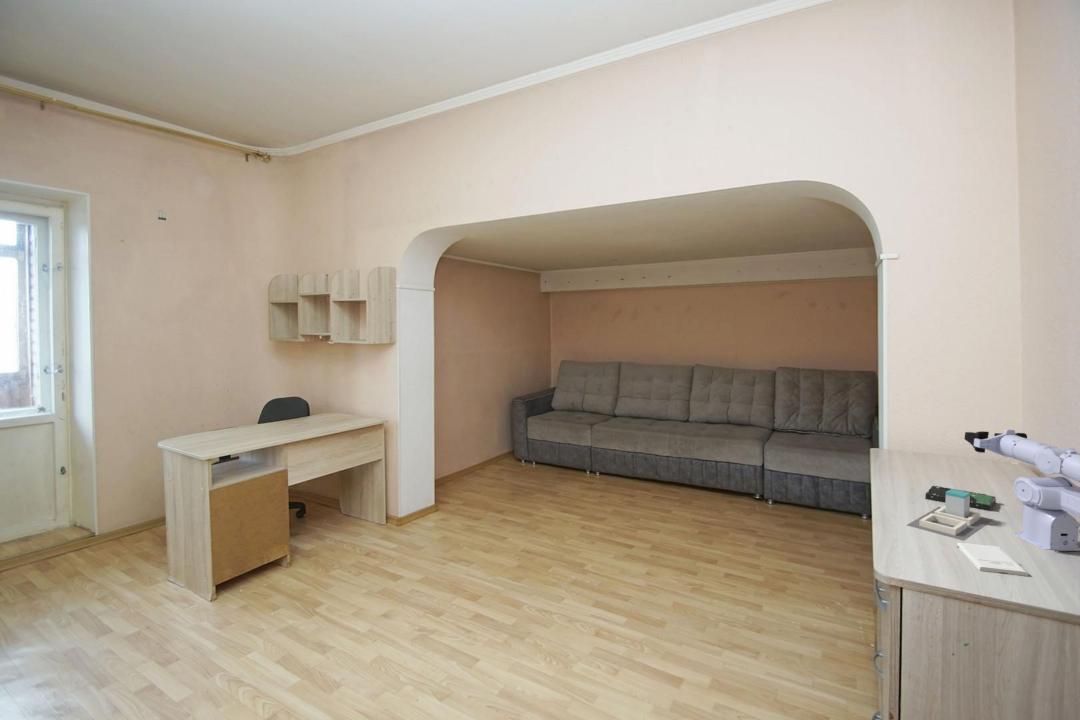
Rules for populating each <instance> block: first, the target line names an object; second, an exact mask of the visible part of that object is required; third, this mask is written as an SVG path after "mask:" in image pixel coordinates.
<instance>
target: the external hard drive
mask: <svg viewBox="0 0 1080 720" xmlns="http://www.w3.org/2000/svg"><path fill="white" fill-rule="evenodd" d="M956 545H957V546H956V548H957V549H958V550H960V552H962V554H963V555H965V557H966V558H967V559H968V560H969V561H970V562H971V563H972V564H973V565H974V566H975V567H976V568H977V570H978V571H981V572H987V573H996V574H1007V575H1015V576H1021V577H1023V576H1024V577H1029V573H1028V571H1026V570H1025V569H1024V568H1023V567H1022V565H1020V564H1019V563H1018V562H1017V561H1015V560H1014V559H1013V558H1012V557H1011V556H1010V555H1009V554H1008V553H1007V552H1006V551H1005V550H1003V549H1002V547H1000V546H998V545H997V546H996V545H986V544H976V543H967V542H966V543H965V542H957V543H956Z"/></svg>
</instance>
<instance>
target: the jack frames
mask: <svg viewBox="0 0 1080 720" xmlns="http://www.w3.org/2000/svg"><path fill="white" fill-rule="evenodd" d="M980 517H981V512H976V511H973V510H969V518H963V517H959V516H955V515H951V514H946V513H945V505H943V506H942V508H940V509H938V510H936V511H935V512H934V514H932V513H931V514H929V515H928V516H926V517H924V518H923V519H921V520H919V526H922V527H925V528H929V529H933V530H937V531H940V532H944V533H948V534H952V535H957V534H958V533H960V532H961V531H963V530H964V529H966V528H967V525H968V526H970V525H972V524H973V523H975V522H976V521H978V520H979V519H980ZM932 521H938V522H942V523H946V524H950V525H954V526H955V527H953V528H952V527H948V526H944V525H940V524H936V523H932Z"/></svg>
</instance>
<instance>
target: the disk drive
mask: <svg viewBox="0 0 1080 720" xmlns="http://www.w3.org/2000/svg"><path fill="white" fill-rule="evenodd" d="M950 489H951V488H950V487H949V488H948V487H943V486H938V485H932V486H931V487H930V488H929V489H928V491H926V493H925V500H929V501H934V502H940V503H944V504H945V501H946V492H947V491H948V490H950ZM954 489H955V488H954ZM955 490H957V489H955ZM958 490H959V491H964V492H969V493H970V507H969V508H970V509H971V508H972V509H977V510H982V511H987V512H991V511H992V510H993V508H994V506H995V505H996V502H997V499H996V496H994V495H988V494H986V493H977V492H973V491H967V490H961V489H958Z"/></svg>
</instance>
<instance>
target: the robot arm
mask: <svg viewBox="0 0 1080 720" xmlns="http://www.w3.org/2000/svg"><path fill="white" fill-rule="evenodd" d="M989 434H990V432H989V431H984V430H983V431H976V432H972V431H965V432H964V440H965V441H966V442H968V443H969V444H970V445H971V446H972V447H973V450H974V451H975V452H977V453H981V454H982V453H983V454H985V453H986V450H987V451H990V452H993V453H995V454H997V455H1000V456H1001V457H1002V456H1003V457H1006V458H1007V457H1008V458H1011V459H1014V460H1017V461H1019V462H1023V463H1026V464H1027V465H1028V464H1029V465H1032V466H1035V467H1036V468H1037V469H1038V470H1039V471H1040V472H1042V473H1044V474H1045V475H1047V476H1048V475H1057V474H1059V475H1061V476H1053V477H1051V476H1050V477H1049V476H1048V477H1024V476H1020V477H1018V478H1016V479H1015V481H1014V483H1013V492H1014V495H1015V496H1016V497H1017V499H1018V501H1019V503H1021V504H1022V519H1021V520H1022V521H1021V523H1022V524H1021V531H1019V532H1017V531H1013V532H1011V534H1012V535H1014V536H1016V537H1018V538H1021V539H1023V540H1024V541H1027V542H1029V543H1030V544H1032V545H1035V546H1036V547H1038V548H1040V549H1042V550H1046V551H1048V550H1049V551H1054V550H1055V552H1059V551H1060V552H1070V551H1071V552H1073V551H1075V552H1080V547H1079V522H1078V520H1077V519H1076V518H1075V517H1078V518H1080V486H1078V485H1076V484H1075V483H1074V482H1072V481H1075V482H1078V483H1080V453H1079V452H1078V451H1077V450H1075V448H1074V447H1069V446H1068V447H1067V446H1066V447H1056V446H1054V445H1050V444H1047V443H1042V442H1039V441H1037V440H1033V439H1029V438H1028V435H1027V433H1024V432H1016V431H1015V430H1014V429H1009V428H1008V429H1005V430H1004V432H1003V433H1000V432H998V433H997V432H995V433H994V436H991V437H989ZM1072 515H1073V516H1072ZM1074 516H1075V517H1074Z"/></svg>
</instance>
